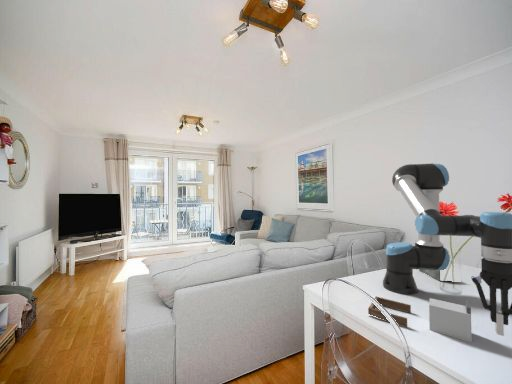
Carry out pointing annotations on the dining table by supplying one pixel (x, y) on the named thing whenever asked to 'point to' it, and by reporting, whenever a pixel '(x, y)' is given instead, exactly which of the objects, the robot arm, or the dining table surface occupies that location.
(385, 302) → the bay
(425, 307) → the dining table surface
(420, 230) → the robot arm
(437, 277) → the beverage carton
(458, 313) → the grey box with ridge
